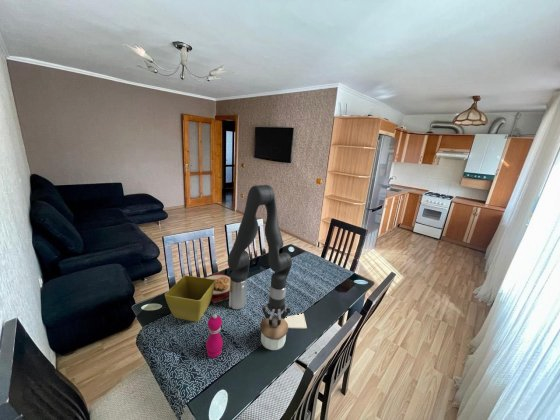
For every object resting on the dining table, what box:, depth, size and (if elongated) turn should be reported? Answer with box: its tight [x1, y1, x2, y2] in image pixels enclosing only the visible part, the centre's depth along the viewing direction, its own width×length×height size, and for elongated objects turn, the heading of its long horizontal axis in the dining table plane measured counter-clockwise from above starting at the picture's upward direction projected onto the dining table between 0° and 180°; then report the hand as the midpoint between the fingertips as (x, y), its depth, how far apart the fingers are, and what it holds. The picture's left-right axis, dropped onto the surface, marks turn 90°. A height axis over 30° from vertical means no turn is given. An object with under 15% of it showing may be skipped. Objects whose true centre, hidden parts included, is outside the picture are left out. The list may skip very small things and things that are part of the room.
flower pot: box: [164, 275, 215, 323], centre depth 121 cm, size 19×19×17 cm
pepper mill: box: [205, 313, 224, 358], centre depth 99 cm, size 7×7×20 cm
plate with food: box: [205, 271, 230, 303], centre depth 142 cm, size 24×26×4 cm
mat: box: [284, 312, 308, 330], centre depth 126 cm, size 15×15×1 cm
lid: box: [259, 314, 289, 339], centre depth 108 cm, size 14×14×6 cm
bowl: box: [260, 331, 287, 351], centre depth 110 cm, size 12×12×6 cm
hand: (274, 324), depth 109 cm, fingers closed on lid, 3 cm apart
